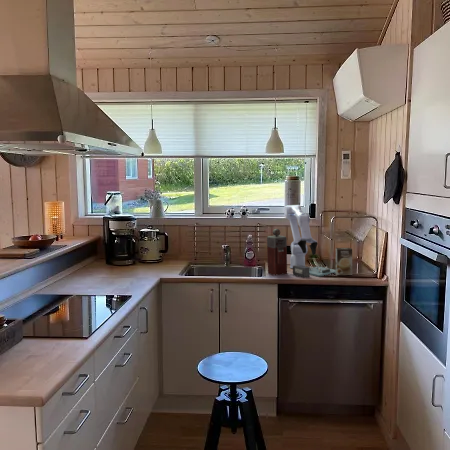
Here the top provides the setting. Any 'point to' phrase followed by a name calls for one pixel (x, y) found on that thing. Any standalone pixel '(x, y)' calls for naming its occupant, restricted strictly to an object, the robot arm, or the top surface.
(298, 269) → the drive
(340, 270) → the coffee box
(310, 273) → the teal square peg board
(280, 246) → the brown tall bottle
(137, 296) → the top surface
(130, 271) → the top surface
